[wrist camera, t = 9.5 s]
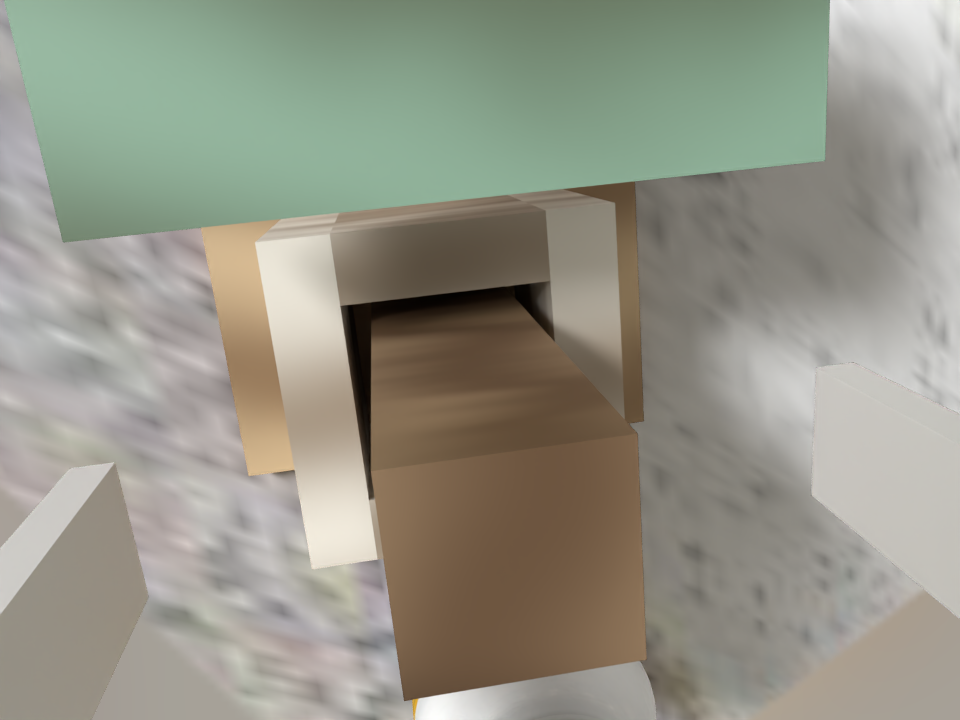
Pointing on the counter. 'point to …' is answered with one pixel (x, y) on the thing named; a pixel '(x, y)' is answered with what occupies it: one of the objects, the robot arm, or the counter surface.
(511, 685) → the supplement bottle
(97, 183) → the awning station
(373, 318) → the walnut peg
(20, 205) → the counter surface
